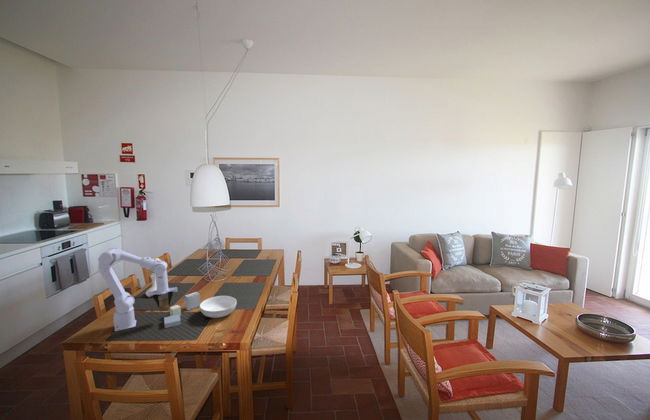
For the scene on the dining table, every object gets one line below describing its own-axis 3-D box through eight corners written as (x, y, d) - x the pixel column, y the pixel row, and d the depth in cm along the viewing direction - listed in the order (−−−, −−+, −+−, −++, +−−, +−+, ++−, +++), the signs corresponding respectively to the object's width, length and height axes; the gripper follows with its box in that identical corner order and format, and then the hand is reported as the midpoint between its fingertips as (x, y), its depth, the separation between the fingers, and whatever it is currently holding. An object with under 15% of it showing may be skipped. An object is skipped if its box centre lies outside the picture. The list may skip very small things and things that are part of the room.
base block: (164, 329, 163) (164, 323, 162) (164, 322, 169) (164, 317, 169) (181, 325, 166) (180, 320, 166) (180, 318, 173) (179, 314, 173)
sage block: (173, 318, 173) (172, 309, 172) (170, 316, 176) (169, 307, 175) (181, 315, 176) (180, 306, 176) (177, 313, 179) (177, 304, 178)
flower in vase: (154, 298, 198) (151, 262, 195) (141, 296, 202) (138, 261, 198) (170, 291, 210) (167, 257, 207) (157, 289, 214) (155, 255, 210)
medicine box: (197, 304, 191) (196, 291, 190) (200, 306, 188) (199, 293, 187) (184, 308, 185) (184, 295, 184) (188, 310, 182) (187, 297, 181)
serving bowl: (221, 325, 166) (221, 313, 165) (192, 318, 173) (191, 307, 172) (244, 308, 185) (243, 298, 184) (216, 303, 192) (216, 293, 191)
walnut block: (159, 311, 165) (159, 302, 165) (159, 308, 169) (158, 299, 169) (168, 309, 168) (168, 300, 167) (168, 306, 172) (167, 297, 171)
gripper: (146, 288, 159) (149, 311, 161) (177, 282, 166) (178, 305, 168) (147, 283, 165) (149, 306, 167) (176, 278, 172) (177, 300, 174)
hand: (164, 305), depth 168 cm, fingers closed on walnut block, 4 cm apart
